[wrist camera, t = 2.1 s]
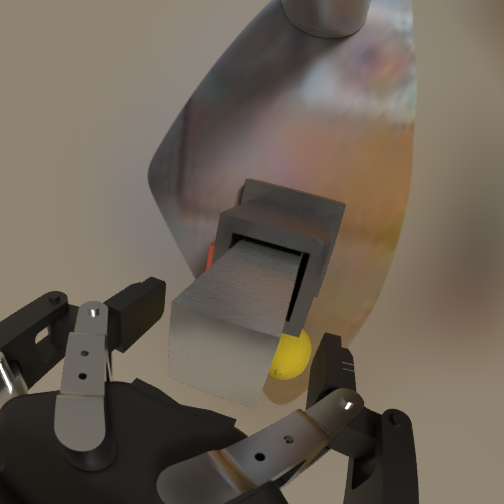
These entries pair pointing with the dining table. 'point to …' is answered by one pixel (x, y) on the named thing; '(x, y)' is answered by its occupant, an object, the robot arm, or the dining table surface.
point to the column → (233, 321)
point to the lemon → (290, 356)
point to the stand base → (285, 236)
